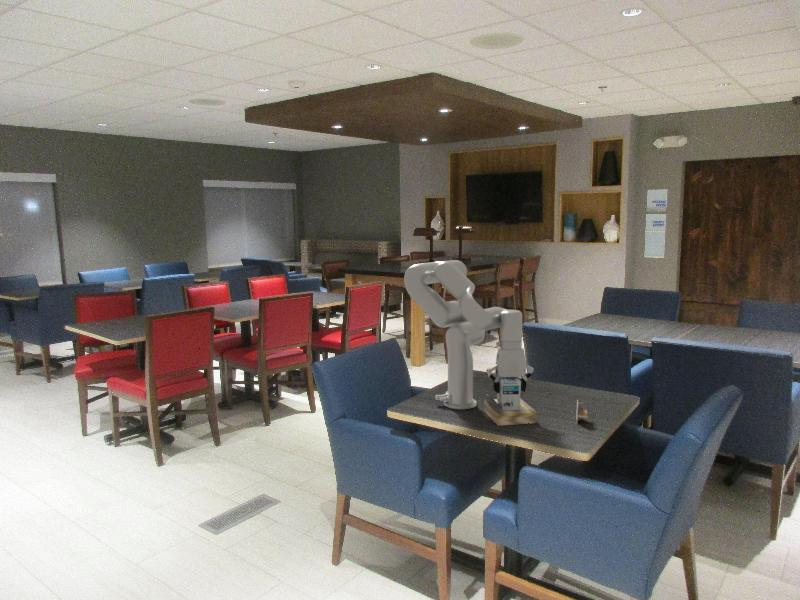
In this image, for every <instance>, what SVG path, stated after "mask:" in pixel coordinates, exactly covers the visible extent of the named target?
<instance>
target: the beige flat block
mask: <svg viewBox="0 0 800 600" xmlns="http://www.w3.org/2000/svg"><path fill="white" fill-rule="evenodd" d="M483 411H484V413H486V414H487V416H488V417H489V418H490V419H491V420H492V421H493V422H494V423H495V424H496V425H497V426H510V425H511V426H512V425H525V424H526V425H528V423H529V424H537V415H538V412H537V411H536V410H535V409H534V408H533V407H531V406H530V405H529V404H528V403H527V402H525V401H524V399H522V398H520V410H502V409H501V406H500V405H499V404H498V402H497V398H496V399H494V398H493V397H492V396H491V395H490V394H488V393H485V394H484V400H483Z"/></svg>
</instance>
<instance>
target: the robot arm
mask: <svg viewBox="0 0 800 600" xmlns="http://www.w3.org/2000/svg"><path fill="white" fill-rule="evenodd" d="M467 274H468V268H467V266H466V265H465V264H464V263H463V261H461V260H458V259H453V260H451V259H450V260H443V261H433V262H424V263H423V262H422V263H417V264H413V265H411V266H408V268H407V269H406V271H405V273H404V277H403V282H404V288H405V289H406V291H407V294H408V295H409V296H410V297H411V299H413V301H414V302H416V303H417V304H418V305H419V307H420V308H421V309H422V310H423V312H424V313H425V314H427V316H428V317H429V318H430V319H431V321H432V322H433V323H434V324H435V325H436V326H437V327H439V328H442V329H443V328H448V327H449V328H448V329H447V330H446V332H445V344H446V352H447V391H445V393H443V394H436V395H435V396H434V397H435V401H440V402H443V405H444V406H445V407H447V408H448V409H453V410H468V409H469V410H470V409H473V408H476V407H477V400H476V399H474V398H473V396H474V390H473V388H474V358H473V352H472V349H471V347H472V346H475V345H478V344H480V343H481V342H483V341H484V339H485V336H486V332H487V331H490V330H493V329H498V328H500V333H499V334H500V339H499V341H497V342H496V347H498V349H497V352H496V353H497V354H496V358H495V364H494V365H492V366H490V367H488V368H486V373H487V375H488V377H489V378H490V379H491V380H492V382H493V381H494V383H493V385H492V387H493V388H492V390H493V391H494V392H495V393H496V394H497V393H499V382H498V381H499V380H500V378H512V377H517V378H520V379H519V380H520V381H521V391H522V392H523V393H525V392H526V389H527V382H528V380H529V379H530V377H531V376H532V373H533V372H534V371H535V369H534V367H532V366H530V365H528V364H527V361H526V354H525V348H523V347H522V345H523V343H522V341H523V313H522V311H521V310H518V309H506V308H503V307H500V306H493V307H489V308H483V307H482V306H481V305H480V303H478V302H477V301H476V300H475V298H474V296H473V294H474V292H475V289H476V285H475V284H474V283H473V282H472V281H471V280H470V278H469V277H467V276H468V275H467ZM437 283H440V285H441V286H443V287H444V288H445V289H446V291H448V292H449V293H450V295H452V297H454V298H455V299H456V300H451V301H450V300H449V301H446V300H445V299H444V298H443V297H442V296H441V295H440V294H439V293H438V291H436V290H435V289H433V288H431V287H430V286H429V285H432V284H437ZM493 372H496V374H495V376H493V375H494V374H493Z"/></svg>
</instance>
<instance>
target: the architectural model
mask: <svg viewBox="0 0 800 600" xmlns="http://www.w3.org/2000/svg"><path fill="white" fill-rule="evenodd" d="M583 406H584V403H583V402H579V399H576V413H575V414H576V417H575V418H576V419H575V420H577V421H576V425H578V421H583V420H582V419H583V418H586V419H588V418H589V416H588V411H587V410H586V409H585V410H584V407H583Z"/></svg>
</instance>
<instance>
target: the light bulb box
mask: <svg viewBox="0 0 800 600" xmlns="http://www.w3.org/2000/svg"><path fill="white" fill-rule="evenodd" d="M520 380H521V379H520V378H519V377H512V378H500V380H499V381H498V382H499V393H496V399H497V402H498V404H499V405H500V406H501V409H502V410H520V398H521V381H520ZM521 399H522V398H521Z"/></svg>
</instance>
